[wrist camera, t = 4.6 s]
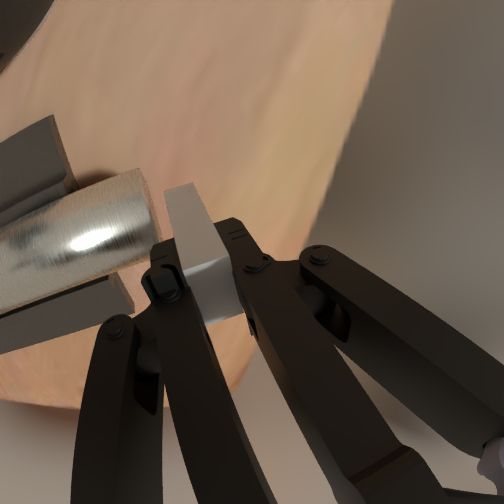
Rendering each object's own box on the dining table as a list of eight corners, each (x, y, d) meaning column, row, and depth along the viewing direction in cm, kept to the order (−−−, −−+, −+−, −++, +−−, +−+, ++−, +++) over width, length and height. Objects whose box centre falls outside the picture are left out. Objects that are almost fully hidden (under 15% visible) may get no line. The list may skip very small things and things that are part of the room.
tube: (-37, 322, 13) (-66, 348, 8) (-59, 268, 11) (-92, 285, 7) (166, 245, 16) (164, 265, 12) (143, 170, 15) (133, 163, 11)
